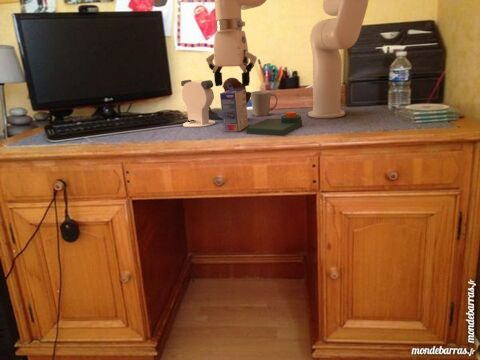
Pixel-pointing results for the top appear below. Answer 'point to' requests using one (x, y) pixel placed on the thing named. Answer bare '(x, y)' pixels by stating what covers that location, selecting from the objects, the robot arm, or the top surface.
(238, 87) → the ice cream bowl
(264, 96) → the cup
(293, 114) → the tare button
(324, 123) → the top surface
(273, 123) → the scale
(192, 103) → the beige round-topped stand
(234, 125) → the ink cartridge box
